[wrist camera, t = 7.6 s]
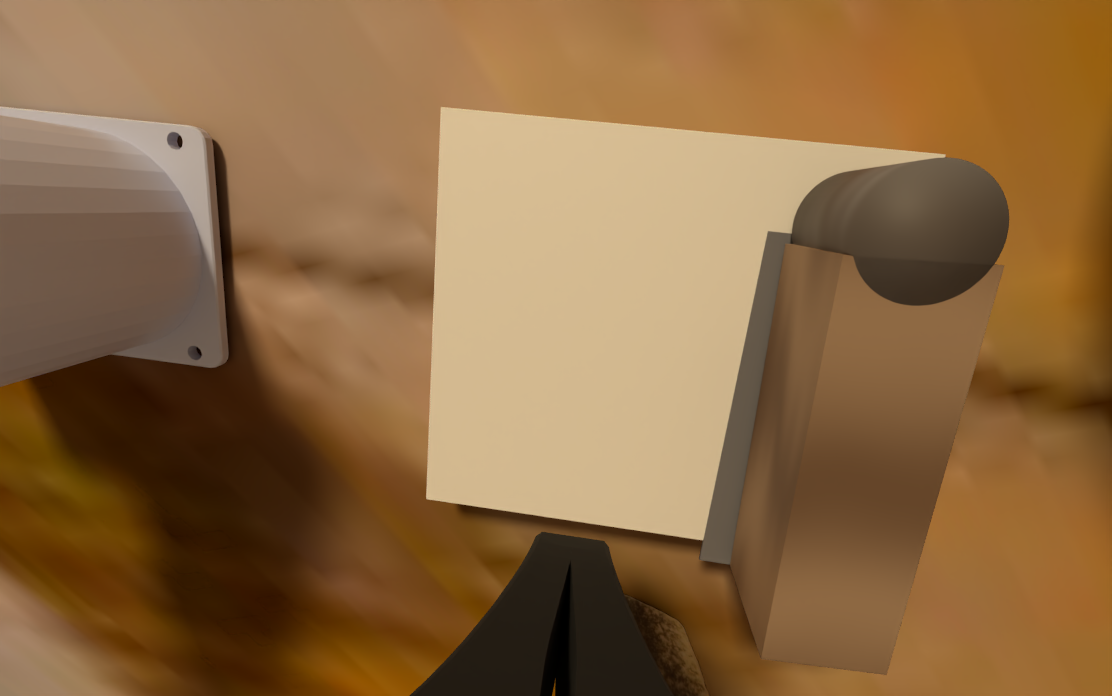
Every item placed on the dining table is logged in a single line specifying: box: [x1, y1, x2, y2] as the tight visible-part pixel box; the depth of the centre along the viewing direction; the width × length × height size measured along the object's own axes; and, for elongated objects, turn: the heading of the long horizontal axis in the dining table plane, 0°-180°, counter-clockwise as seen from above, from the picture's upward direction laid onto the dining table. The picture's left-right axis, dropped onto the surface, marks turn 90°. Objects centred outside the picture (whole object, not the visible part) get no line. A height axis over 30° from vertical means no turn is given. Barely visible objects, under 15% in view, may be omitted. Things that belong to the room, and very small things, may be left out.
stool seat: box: [426, 107, 945, 565], centre depth 16 cm, size 13×13×2 cm
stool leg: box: [730, 158, 1009, 675], centre depth 13 cm, size 12×3×4 cm, turn 177°
